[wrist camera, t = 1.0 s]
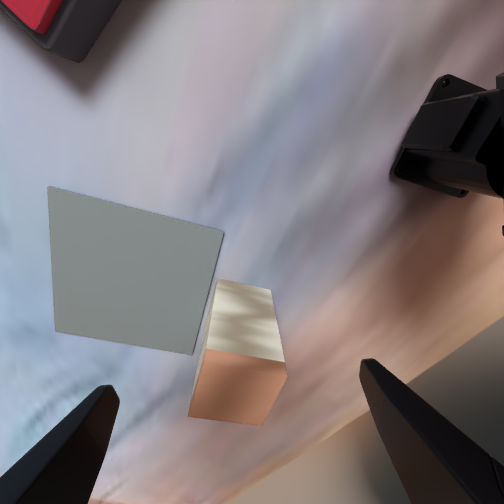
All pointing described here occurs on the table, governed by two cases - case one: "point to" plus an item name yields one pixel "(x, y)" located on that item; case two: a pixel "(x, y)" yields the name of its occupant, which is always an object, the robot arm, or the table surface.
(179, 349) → the mat
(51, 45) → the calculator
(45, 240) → the table surface
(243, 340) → the block
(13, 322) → the table surface
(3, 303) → the table surface
